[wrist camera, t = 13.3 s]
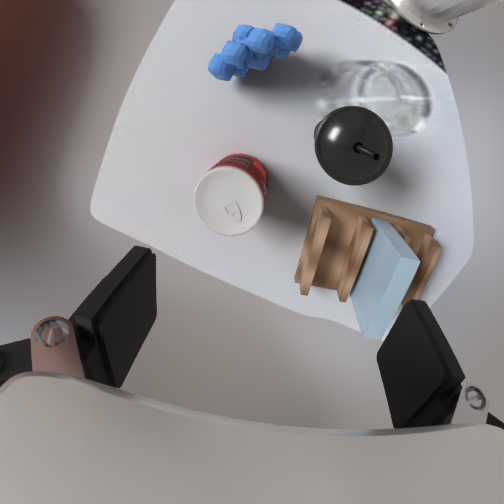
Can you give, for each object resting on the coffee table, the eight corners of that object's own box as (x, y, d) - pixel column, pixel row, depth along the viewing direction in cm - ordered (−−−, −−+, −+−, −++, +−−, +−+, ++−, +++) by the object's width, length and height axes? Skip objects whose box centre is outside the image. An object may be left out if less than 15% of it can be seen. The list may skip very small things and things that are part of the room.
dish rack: (316, 195, 40) (322, 208, 35) (430, 226, 40) (447, 241, 35) (294, 277, 47) (295, 299, 42) (400, 296, 47) (410, 317, 42)
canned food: (242, 216, 43) (230, 249, 33) (203, 179, 41) (178, 202, 31) (280, 181, 40) (279, 205, 30) (239, 141, 38) (224, 151, 28)
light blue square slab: (372, 217, 39) (401, 256, 29) (388, 222, 39) (420, 261, 29) (347, 285, 45) (362, 337, 34) (362, 288, 45) (380, 339, 34)
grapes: (285, 22, 29) (286, -11, 19) (306, 62, 32) (316, 42, 21) (206, 53, 32) (178, 33, 22) (226, 93, 35) (204, 86, 24)
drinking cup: (355, 106, 34) (419, 105, 16) (360, 160, 37) (421, 203, 20) (300, 110, 35) (319, 106, 17) (307, 163, 39) (329, 210, 21)
